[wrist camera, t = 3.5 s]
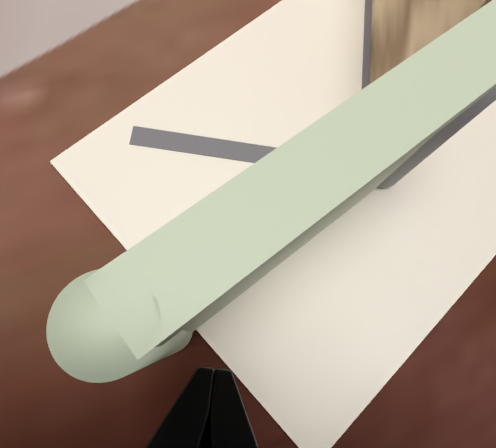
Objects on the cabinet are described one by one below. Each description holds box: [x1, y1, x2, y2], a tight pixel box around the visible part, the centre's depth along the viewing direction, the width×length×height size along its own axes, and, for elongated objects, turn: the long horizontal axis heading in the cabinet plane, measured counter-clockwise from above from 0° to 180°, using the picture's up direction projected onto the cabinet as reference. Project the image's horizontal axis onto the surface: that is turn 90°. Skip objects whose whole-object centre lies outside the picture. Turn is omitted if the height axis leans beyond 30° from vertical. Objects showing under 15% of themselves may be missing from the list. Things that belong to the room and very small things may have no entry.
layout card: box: [50, 0, 496, 448], centre depth 20 cm, size 18×23×1 cm
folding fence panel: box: [46, 0, 496, 383], centre depth 12 cm, size 14×2×10 cm, turn 128°
